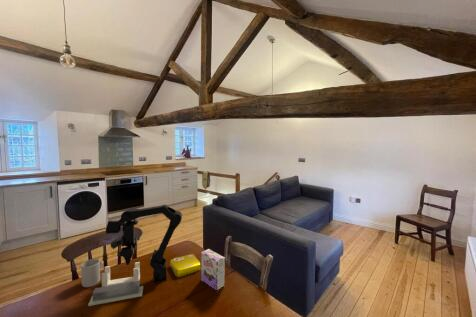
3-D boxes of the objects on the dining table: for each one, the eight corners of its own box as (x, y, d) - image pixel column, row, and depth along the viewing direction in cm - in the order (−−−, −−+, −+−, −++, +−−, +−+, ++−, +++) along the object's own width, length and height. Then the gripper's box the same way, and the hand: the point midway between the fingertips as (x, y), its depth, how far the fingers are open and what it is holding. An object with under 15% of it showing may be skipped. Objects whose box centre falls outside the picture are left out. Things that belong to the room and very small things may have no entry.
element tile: (176, 278, 126) (176, 270, 126) (169, 266, 139) (169, 258, 138) (201, 270, 134) (201, 263, 133) (192, 259, 146) (192, 252, 146)
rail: (139, 288, 115) (139, 280, 115) (138, 293, 111) (138, 285, 111) (95, 296, 109) (95, 288, 109) (92, 301, 105) (92, 293, 105)
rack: (140, 275, 128) (140, 261, 127) (139, 282, 121) (138, 268, 120) (104, 280, 122) (104, 266, 122) (101, 289, 115) (100, 274, 115)
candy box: (200, 280, 124) (200, 251, 123) (208, 275, 128) (208, 248, 127) (216, 292, 114) (216, 261, 113) (225, 286, 118) (225, 257, 117)
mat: (143, 287, 117) (143, 285, 117) (141, 296, 110) (141, 294, 110) (92, 296, 110) (92, 294, 110) (88, 306, 103) (88, 304, 103)
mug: (92, 288, 116) (91, 267, 115) (77, 286, 117) (76, 266, 116) (108, 274, 128) (107, 256, 127) (94, 273, 129) (94, 255, 128)
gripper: (115, 227, 126) (116, 254, 127) (107, 241, 109) (108, 272, 110) (136, 225, 130) (137, 251, 131) (132, 238, 112) (133, 268, 113)
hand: (129, 260), depth 121 cm, fingers open, 9 cm apart
